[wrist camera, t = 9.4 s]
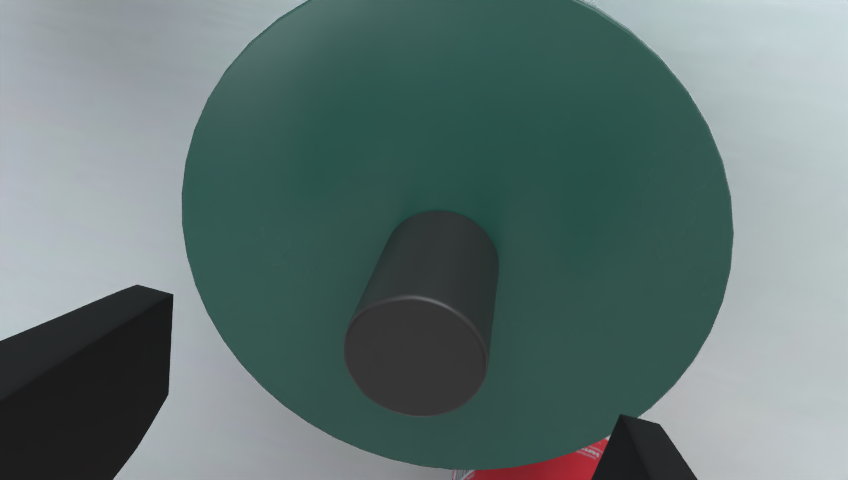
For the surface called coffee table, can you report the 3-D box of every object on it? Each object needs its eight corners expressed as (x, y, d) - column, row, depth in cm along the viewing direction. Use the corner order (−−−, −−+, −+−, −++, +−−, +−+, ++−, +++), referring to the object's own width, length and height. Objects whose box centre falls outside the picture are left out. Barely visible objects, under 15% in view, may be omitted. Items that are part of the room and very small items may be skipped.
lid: (382, 493, 19) (338, 655, 15) (104, 149, 15) (-54, 234, 11) (806, 333, 15) (910, 494, 11) (554, -175, 11) (563, -227, 7)
